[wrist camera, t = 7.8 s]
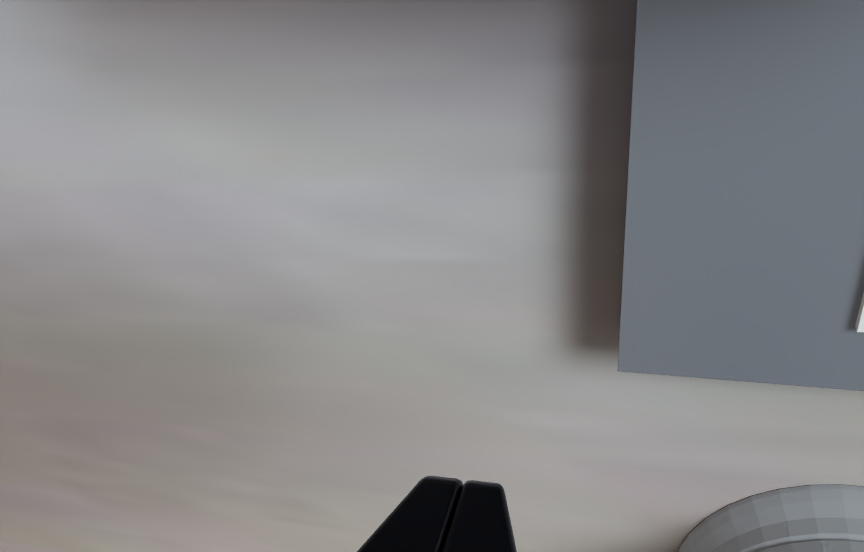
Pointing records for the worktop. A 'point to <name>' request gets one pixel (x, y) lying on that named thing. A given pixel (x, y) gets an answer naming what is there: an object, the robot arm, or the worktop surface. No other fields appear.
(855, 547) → the grey rounded piece
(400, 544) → the robot arm
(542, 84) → the worktop surface
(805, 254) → the label board
